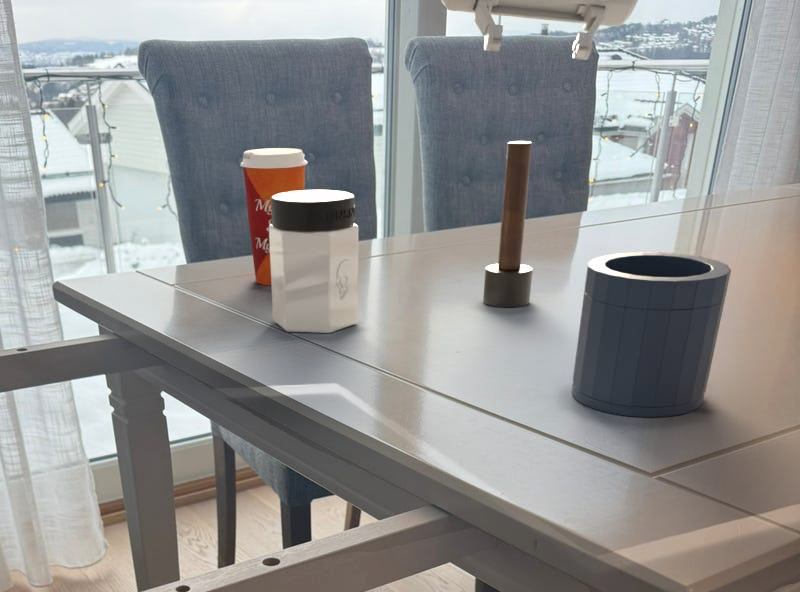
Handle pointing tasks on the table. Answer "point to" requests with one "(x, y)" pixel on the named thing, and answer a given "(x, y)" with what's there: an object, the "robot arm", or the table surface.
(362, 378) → the table surface
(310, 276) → the jar
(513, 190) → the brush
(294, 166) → the paper cup
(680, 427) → the table surface
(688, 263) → the stoneware jar
